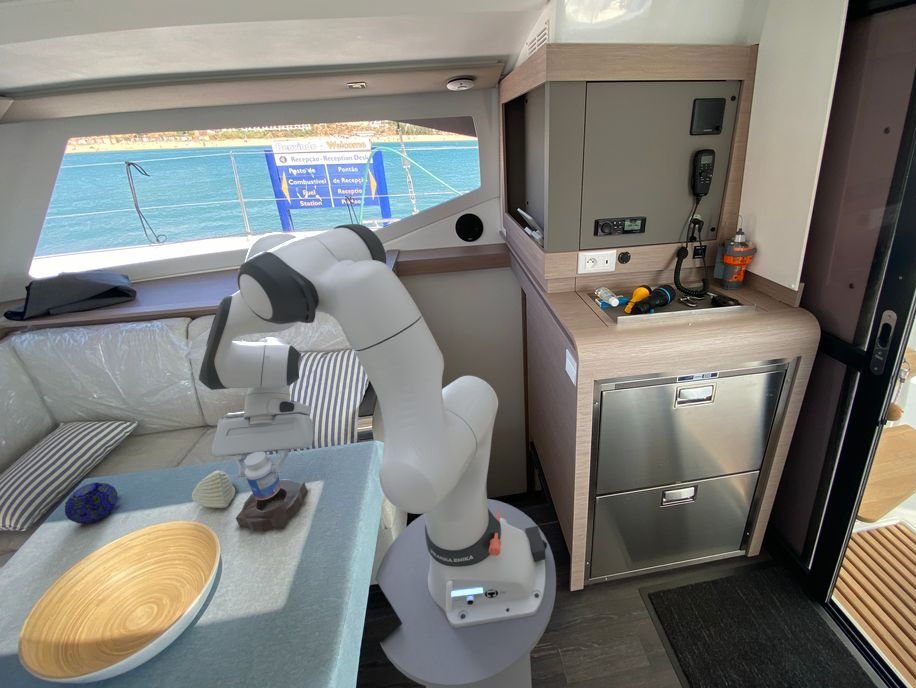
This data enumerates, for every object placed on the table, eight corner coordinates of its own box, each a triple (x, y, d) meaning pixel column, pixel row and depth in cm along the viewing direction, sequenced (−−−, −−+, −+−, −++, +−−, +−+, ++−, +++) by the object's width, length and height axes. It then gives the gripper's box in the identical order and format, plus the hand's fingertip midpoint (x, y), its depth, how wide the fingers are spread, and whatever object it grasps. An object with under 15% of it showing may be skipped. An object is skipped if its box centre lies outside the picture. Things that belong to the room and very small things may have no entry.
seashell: (225, 469, 103) (239, 464, 99) (230, 504, 101) (244, 501, 97) (186, 479, 96) (198, 475, 92) (190, 517, 94) (203, 515, 90)
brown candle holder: (312, 489, 99) (308, 479, 98) (284, 532, 88) (280, 522, 87) (267, 487, 100) (263, 478, 99) (234, 530, 89) (230, 520, 88)
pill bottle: (251, 490, 92) (237, 457, 88) (277, 477, 95) (265, 444, 91) (257, 505, 88) (243, 471, 84) (284, 490, 92) (272, 457, 88)
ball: (87, 506, 97) (71, 482, 94) (127, 494, 100) (113, 471, 97) (69, 534, 90) (52, 509, 87) (113, 521, 93) (98, 496, 90)
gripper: (210, 412, 90) (199, 480, 85) (306, 403, 92) (301, 469, 87) (227, 415, 96) (218, 480, 91) (318, 406, 98) (314, 469, 93)
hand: (260, 474), depth 89 cm, fingers closed on pill bottle, 5 cm apart
